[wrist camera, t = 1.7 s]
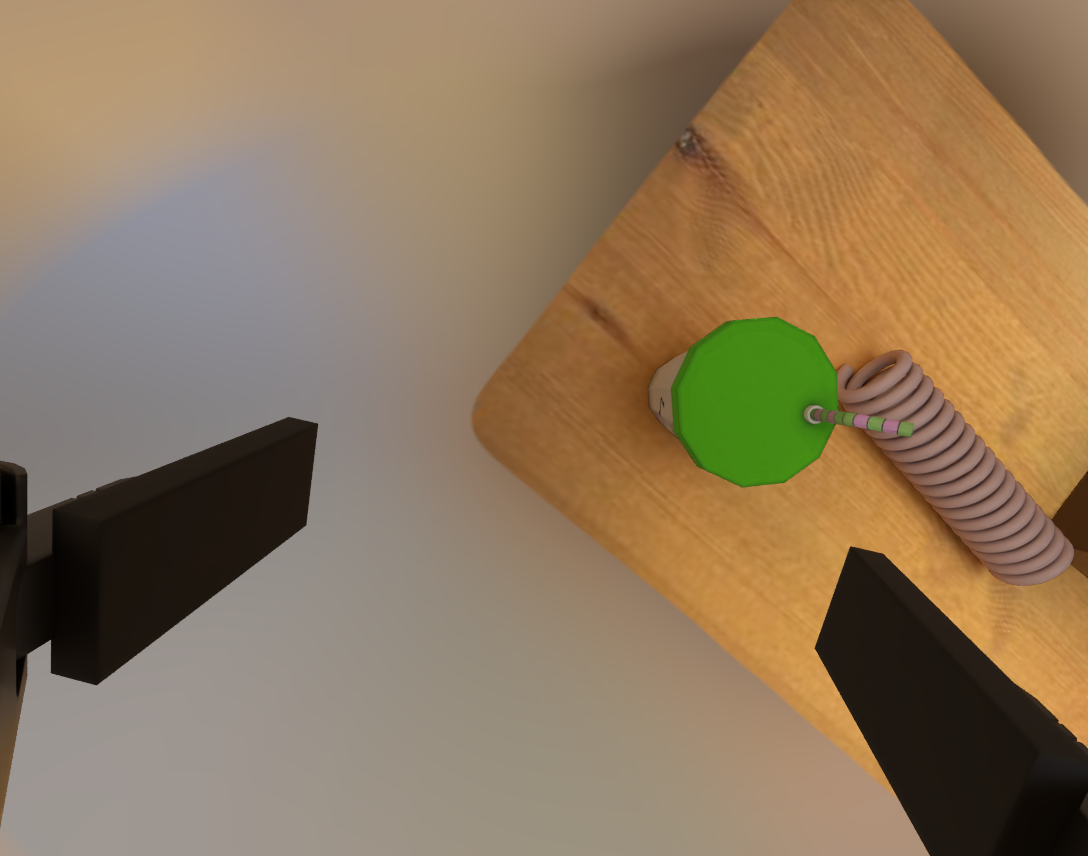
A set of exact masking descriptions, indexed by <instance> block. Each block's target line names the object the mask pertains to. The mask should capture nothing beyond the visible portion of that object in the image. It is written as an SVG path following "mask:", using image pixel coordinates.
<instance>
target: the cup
mask: <svg viewBox="0 0 1088 856" xmlns="http://www.w3.org/2000/svg"><path fill="white" fill-rule="evenodd" d="M648 395H649V407H650V409H651V410H652V412H653V413H654V415H655V416H656V418H657V419H658V421H659V422H660V423H661V424H662V425H663V426H664V427H665V428H667V429H668V430H669V431H670V432H671V433H672V434H673V435H674V436H676V437H677V438H678V439H679V440H680V442H681V443H682V445H683V446H684V448H685V449H686V451H687V452H688V454H689V455H690V457H691V458H692V460H693V461H694V463H695V464H696V466H697V467H699V468H701V469H704V470H706V471H708V472H710V473H712V474H714V475H716V476H719V477H721V478H723V479H725V480H727V481H729V482H731V483H734V484H736V485H738V486H740V487H751V486H760V485H769V484H778V483H785V482H786V481H788V480H789V479H790V478H792V477H793V476H794V475H796V474H797V473H799V472H800V471H801V470H803V469H804V468H805V467H807V466H808V465H810V464H811V463H812V462H814V461H815V460H816V459H818V458H819V457H820V455H821V453H822V451H823V449H824V447H825V445H826V443H827V441H828V439H829V437H830V435H831V433H832V431H833V429H834V427H835V425H836V424H840V425H846V426H852V427H858V428H863V429H869V430H874V431H879V432H885V433H890V434H896V435H901V436H906V437H911V436H912V433H913V429H914V423H910V422H904V421H898V420H892V419H887V418H881V417H875V416H869V415H864V414H857V413H851V412H842V411H839V404H838V377H837V372H836V370H835V369H834V367H833V365H832V364H831V362H830V360H829V359H828V357H827V356H826V354H825V352H824V351H823V349H822V347H821V346H820V344H819V342H818V341H817V339H816V337H815V336H813V335H811V334H809V333H807V332H805V331H803V330H801V329H799V328H797V327H796V326H794V325H792V324H790V323H788V322H786V321H784V320H782V319H780V318H778V317H770V318H758V319H745V320H734V321H729V322H725V323H723V324H722V325H721V326H719V327H718V328H716V329H715V330H714V331H712V332H711V333H709V334H708V335H706V336H705V337H704V338H702V339H701V340H699V341H698V342H697V343H695V344H694V345H692V346H691V347H690V348H689V350H688V351H686V352H684V353H682V354H680V355H679V356H677V357H675V358H673V359H671V360H670V361H668V362H667V363H665V364H664V365H663V366H661V367H660V368H658V369H657V370H656V372H655V374H654V376H653V378H652V380H651V382H650V384H649V387H648Z"/></svg>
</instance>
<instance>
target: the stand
mask: <svg viewBox="0 0 1088 856" xmlns="http://www.w3.org/2000/svg"><path fill="white" fill-rule="evenodd" d="M1052 522H1053V523H1054V525H1055V526H1056V527H1057V528H1059V530H1060V531H1061V532H1062V534H1063V536H1064V537H1066V538H1067V539H1068V540H1069V541H1070V543H1071V544H1072V546H1073V549H1074V556H1073V560H1072V562H1071V564H1072V565H1073V566H1074V567H1075V568H1076V569H1078V570H1079V571H1080V572H1081V573H1083V574H1084V575H1085V576H1086V577H1087V578H1088V472H1087V474H1086V475H1085V476H1084V478H1083V479H1082V480H1081V482H1080V483H1079V484H1078V486H1077V487H1076V488H1075V490H1074V491H1073V492H1072V494H1071V495H1070V497H1069V498H1068V499H1067V501H1066V502H1065V503H1064V505H1063V506H1062V507H1061V509H1060V510H1059V511H1058V513H1057V514H1056V515H1055V517H1054V518H1053V519H1052Z"/></svg>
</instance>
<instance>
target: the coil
mask: <svg viewBox="0 0 1088 856" xmlns="http://www.w3.org/2000/svg"><path fill="white" fill-rule="evenodd" d="M895 363H896V364H895ZM892 364H895V365H894V366H892V367H890V368H888V369H886V370H884V371H883V372H881V373H879V374H878V375H876V376H875V377H874V378H873V379H871V380H870V381H869V382H868V383H867V384H866V385H865V386H864V387H862V388H860V387H861V386H862V385H863V384H864V383H865V382H866V381H867V380H868V379H869V378H870V377H871V376H873V375H874V374H875V373H877V372H878V371H880V370H881V369H883V368H885V367H887V366H889V365H892ZM853 372H854V369H853V368H852V367H850V366H849V365H847V364H843V365H842V367H841V368H840V369H839V370H838V372H837V377H838V401H840V402H841V403H842V406H843V408H844V409H845V410H846V411H847V412H851V413H857V414H864V415H869V416H875V417H881V418H887V419H892V420H898V421H904V422H910V423H914V429H913V433H912V436H911V437H906V436H901V435H896V434H890V433H885V432H879V431H874V430H869V429H863V430H864V431H865V433H866V434H867V435H869V436H871V437H872V439H873V441H874V443H875V444H876V445H877V446H879V447H881V448H882V451H883V452H884V454H885V455H886V456H887V457H888V458H890V459H892V462H893V464H894V465H895V467H897V468H898V469H899V470H901V471H902V473H903V475H904V476H905V478H906V479H908V480H909V481H911V483H912V485H913V486H914V488H915V489H916V490H917V491H919V492H921V494H922V496H923V498H924V499H925V500H926V501H927V502H928V503H930V504H931V506H932V508H933V509H934V510H935V511H936V512H937V513H938V514H940V515H941V517H942V519H943V520H944V522H946V523H947V524H948V525H950V527H951V529H952V530H953V532H954V533H955V534H957V535H958V536H959V537H960V539H961V540H962V542H963V543H964V544H965V545H967V546H968V547H969V549H970V550H971V552H972V553H973V554H974V555H975V556H976V557H978V559H979V561H980V562H981V563H982V564H983V565H984V566H985V567H987V569H988V571H989V572H990V573H991V574H992V575H993V576H994V577H995V578H997V579H999V580H1000V581H1002V582H1005V583H1007V584H1012V585H1018V586H1028V585H1035V584H1040V583H1043V582H1047V581H1049V580H1051V579H1053V578H1055V577H1057V576H1059V575H1060V574H1061V573H1063V572H1064V571H1065V570H1066V569H1067V568H1068V567H1069V565H1070V564H1071V562H1072V560H1073V556H1074V549H1073V546H1072V544H1071V543H1070V541H1069V540H1068V539H1067V538H1066V537H1064V536H1063V534H1062V532H1061V531H1060V530H1059V528H1057V527H1056V526H1055V525H1054V523H1053V522H1052V520H1051V519H1050V518H1049V517H1048V516H1047V515H1045V514H1044V512H1043V510H1042V508H1041V507H1040V506H1039V505H1038V504H1036V503H1035V502H1034V500H1033V498H1032V497H1031V495H1029V494H1028V493H1027V492H1025V490H1024V488H1023V486H1022V485H1021V484H1020V483H1019V482H1018V481H1016V480H1015V478H1014V476H1013V474H1012V473H1011V472H1010V471H1009V470H1007V469H1005V466H1004V464H1003V463H1002V461H1000V460H999V459H998V458H996V457H995V454H994V452H993V451H992V450H991V449H990V448H989V447H987V446H985V443H984V441H983V439H982V438H981V437H980V436H978V435H976V434H975V431H974V429H973V428H972V426H971V425H970V424H968V423H965V420H964V417H963V416H962V415H961V414H960V413H959V412H957V411H955V410H954V406H953V404H952V403H951V402H950V401H949V400H947V399H944V395H943V393H942V391H941V390H940V389H939V388H936V387H934V386H933V381H932V380H931V378H930V377H928V376H926V375H924V374H923V370H922V368H921V367H920V365H918V364H916V363H914V362H912V356H911V355H910V354H909V353H908V352H906V351H904V350H895V351H890V352H887V353H885V354H882V355H880V356H878V357H877V358H875V359H873V360H872V361H870V362H869V363H867V364H866V365H865V366H863V367H862V368H861V369H860V370H859V371H858V372H857V373H856V374H855V375H854V376H853V377H852V378H851V379H850V380H849V382H848V383H847V384H846V382H847V380H848V379H849V377H850V376H851V375H852V374H853ZM905 375H907V376H906V377H904V376H905ZM845 384H846V386H845ZM916 387H917V388H916ZM873 397H874V398H873ZM871 398H873V399H872V400H870V399H871ZM869 400H870V401H869ZM879 411H881V412H880V413H879ZM960 459H961V460H960ZM958 460H959V461H958ZM956 461H958V462H956ZM954 462H956V463H955V464H953V465H951V464H952V463H954ZM949 465H951V466H950V467H948V466H949ZM946 467H948V468H946ZM972 469H973V470H972ZM970 470H972V471H970ZM968 471H970V472H968ZM958 477H959V478H958ZM956 478H957V479H956ZM954 479H956V480H955V481H953V480H954ZM984 479H985V480H984ZM961 492H962V493H961ZM960 493H961V494H960Z"/></svg>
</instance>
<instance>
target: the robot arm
mask: <svg viewBox="0 0 1088 856" xmlns="http://www.w3.org/2000/svg"><path fill="white" fill-rule="evenodd" d="M317 429H318V424H317V423H313V422H309V421H304V420H300V419H295V418H291V417H287V418H285V419H282V420H280V421H277V422H275V423H273V424H270V425H267V426H264V427H262V428H259V429H257V430H254V431H252V432H249V433H247V434H244V435H242V436H239V437H236V438H234V439H232V440H229V441H226V442H224V443H221V444H218V445H216V446H213V447H211V448H209V449H206V450H203V451H201V452H198V453H196V454H193V455H190V456H188V457H185V458H183V459H180V460H178V461H175V462H173V463H170V464H167V465H165V466H162V467H160V468H158V469H155V470H152V471H150V472H147V473H144V474H142V475H139V476H136V477H131V478H126V479H120V480H118V481H115V482H112V483H109V484H107V485H104V486H102V487H99V488H97V489H96V491H93V490H91V491H89V492H86V493H83V494H81V495H78V496H77V498H76V499H75V498H70V499H68V500H65V501H63V502H60V503H57V504H55V505H52V506H50V507H47V508H44V509H42V510H39V511H36V512H34V513H32V514H29V515H27V473H26V470H25V468H23V467H21V466H18V465H16V464H14V463H9V462H4V461H0V825H1V819H2V814H3V808H4V802H5V797H6V792H7V786H8V780H9V775H10V769H11V764H12V758H13V752H14V747H15V741H16V735H17V730H18V724H19V719H20V713H21V707H22V702H23V696H24V691H25V685H26V680H27V654H28V653H30V652H32V651H33V650H35V649H36V648H38V647H40V646H41V645H43V644H45V643H46V642H48V641H49V640H51V673H52V674H56V675H60V676H64V677H67V678H71V679H75V680H78V681H82V682H86V683H90V684H94V685H98V684H99V683H100V682H102V681H103V680H104V679H106V678H107V677H108V676H110V675H111V674H112V673H114V672H115V671H116V670H117V669H119V668H120V667H121V666H123V665H124V664H125V663H127V662H128V661H129V660H130V659H132V658H133V657H134V656H136V655H137V654H138V653H140V652H141V651H142V650H144V649H145V648H146V647H148V646H149V645H150V644H151V643H153V642H154V641H155V640H157V639H158V638H159V637H161V636H162V635H163V634H165V633H166V632H167V631H168V630H170V629H171V628H172V627H174V626H175V625H176V624H178V623H179V622H180V621H181V620H183V619H184V618H186V616H188V615H189V614H191V613H192V612H193V611H195V610H196V609H197V608H199V607H200V606H201V605H202V604H204V603H205V602H206V601H208V600H209V599H210V598H212V597H213V596H214V595H215V594H217V593H218V592H219V591H221V590H222V589H223V588H225V587H226V586H227V585H229V584H230V583H231V582H233V581H234V580H235V579H237V578H238V577H239V576H240V575H242V574H243V573H244V572H246V571H247V570H248V569H250V568H251V567H252V566H254V565H255V564H256V563H257V562H259V561H260V560H261V559H263V558H264V557H265V556H267V555H268V554H269V553H271V552H272V551H273V550H274V549H276V548H277V547H278V546H280V545H281V544H282V543H284V542H285V541H286V540H288V539H289V538H290V537H292V536H293V535H294V534H295V533H297V532H298V531H299V530H301V529H302V528H303V527H305V526H306V523H307V514H308V506H309V496H310V488H311V480H312V471H313V462H314V454H315V446H316V438H317ZM815 650H816V651H817V653H818V655H819V657H820V659H821V660H822V662H823V664H824V666H825V668H826V669H827V671H828V673H829V675H830V677H831V678H832V680H833V682H834V684H835V686H836V687H837V689H838V691H839V693H840V695H841V696H842V698H843V700H844V702H845V704H846V705H847V707H848V709H849V711H850V713H851V714H852V716H853V718H854V720H855V722H856V723H857V725H858V727H859V729H860V731H861V732H862V734H863V736H864V738H865V740H866V741H867V743H868V745H869V747H870V749H871V750H872V752H873V754H874V756H875V758H876V759H877V761H878V763H879V765H880V767H881V768H882V770H883V772H884V774H885V776H886V777H887V779H888V781H889V783H890V785H891V786H892V788H893V790H894V792H895V794H896V795H897V797H898V799H899V801H900V803H901V804H902V806H903V808H904V810H905V812H906V813H907V815H908V817H909V819H910V821H911V823H912V824H913V826H914V828H915V830H916V831H917V833H918V835H919V837H920V839H921V841H922V842H923V844H924V846H925V848H926V849H927V851H928V853H929V855H930V856H1088V748H1087V747H1086V746H1085V745H1084V744H1083V743H1081V742H1077V738H1076V737H1075V736H1074V735H1073V734H1072V733H1071V732H1070V731H1069V730H1068V729H1067V728H1066V727H1065V726H1064V725H1063V724H1059V723H1058V721H1059V720H1058V719H1057V718H1056V717H1055V716H1054V715H1053V714H1052V713H1051V712H1050V711H1049V710H1048V709H1047V708H1046V707H1045V706H1043V705H1042V704H1041V703H1040V702H1039V701H1038V700H1037V699H1036V698H1035V697H1033V696H1032V695H1030V694H1029V693H1027V692H1026V691H1025V690H1023V689H1022V688H1020V687H1019V686H1017V685H1016V684H1014V683H1013V682H1012V681H1011V680H1010V679H1009V678H1008V677H1007V676H1006V675H1005V674H1004V673H1003V672H1002V671H1001V670H1000V669H999V668H998V667H997V666H996V665H995V664H994V663H993V662H992V661H991V660H990V659H989V658H988V657H987V656H986V655H985V654H984V653H983V652H982V651H981V650H980V649H979V648H978V647H977V646H976V645H975V644H974V643H973V642H972V641H971V640H970V639H969V638H968V637H967V636H966V635H965V634H964V633H963V632H962V631H961V630H960V629H959V628H958V627H957V626H956V625H955V624H954V623H953V622H952V621H951V620H950V619H949V618H948V617H947V616H946V615H945V614H944V613H943V612H942V611H941V610H940V609H939V608H938V607H937V606H936V605H935V604H934V603H933V602H931V601H930V600H929V599H928V598H927V597H926V596H925V595H924V594H923V593H922V592H921V591H920V590H919V589H918V588H917V587H916V586H915V585H914V584H913V583H912V582H911V581H910V580H909V579H908V578H907V577H906V576H905V575H904V574H903V573H902V572H901V571H900V570H899V569H898V568H897V567H896V566H895V565H894V564H893V563H892V562H891V561H890V560H889V559H888V558H887V557H886V556H885V555H884V554H882V553H877V552H873V551H869V550H864V549H860V548H856V547H851V546H850V549H849V552H848V554H847V557H846V560H845V563H844V566H843V569H842V572H841V574H840V577H839V580H838V583H837V586H836V589H835V592H834V594H833V597H832V600H831V603H830V606H829V609H828V612H827V614H826V617H825V620H824V623H823V626H822V629H821V632H820V634H819V637H818V640H817V643H816V646H815Z"/></svg>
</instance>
